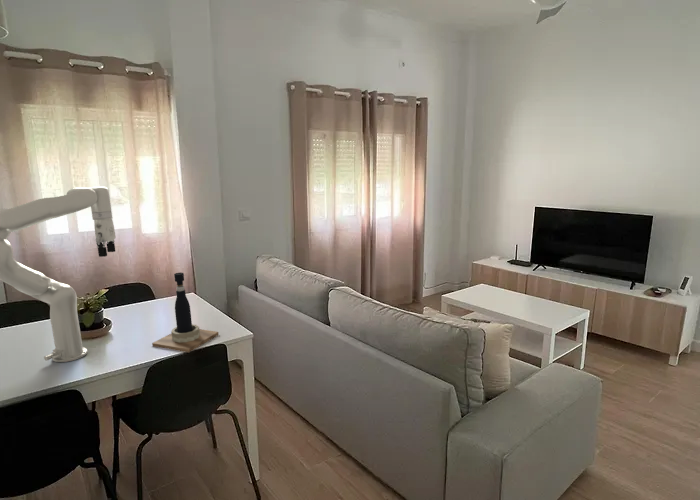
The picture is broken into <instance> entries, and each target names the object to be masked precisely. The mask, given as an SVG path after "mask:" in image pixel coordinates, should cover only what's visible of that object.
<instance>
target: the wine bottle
mask: <svg viewBox="0 0 700 500" xmlns="http://www.w3.org/2000/svg"><path fill="white" fill-rule="evenodd" d="M184 274H185V273H184V272H176V273H174V281H175V282H176V288H175V289H176V290H175V291H176V292H175V294H176V299H175V302H174V313H175V322H176V327H177V333H187V332H191V331H192V324H193V323H192V313H191V305H190V302H189V299H188V298H187V295H186V289H185V286H184V281H185V275H184Z"/></svg>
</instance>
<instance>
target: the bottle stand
mask: <svg viewBox="0 0 700 500" xmlns="http://www.w3.org/2000/svg"><path fill="white" fill-rule="evenodd" d="M170 332H171V333H169V334H167V335H165V336H164V337H161V338H160V339H157V340H155V341H154V342H152V347H155V348H161V349H166V350H171V351H172V350H173V351H178V352H183V353H191V352H193V351H194V350H195V349H197V348H200V347H201V346H202V345H204V344H206V343H208V342H209V341H211V340H212V339H214V338H217V337H218V336H219V331H216V330H208V329H200V326H199V325H197V324H193V323H192V331H191V332H187V333H177V326H176V327H174V328H172V329H171V331H170ZM190 351H191V352H190Z"/></svg>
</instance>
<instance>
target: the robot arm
mask: <svg viewBox="0 0 700 500" xmlns="http://www.w3.org/2000/svg"><path fill="white" fill-rule="evenodd" d="M111 205H112V204H111V198H110V190H109V188H108V187H106V186H93V187H73V188H70V189H69V190H68V191H67V192H66V194H64V195H60V196H54V197H52V196H51V197H44V198H38V199H35V200H33V201H29V202H26V203H23V204H20V205H16V206H14V207H11V208H0V281H1V282H3V283H6V284H7V285H9V286H12V288H14V289H15V290H17V291H18V292H20V293H23V294H24V295H26V296H30V297H31V298H34V299H36V300H39V301H41V302H43V303H46V304H48V305H49V307H50V308H49V319H50V320H49V321H50V324H51V330H52V336H53V342H54V349H52V352H51V353H50V354H47V355H45V356H44V357H43V360H45V361H49V360H52V361H53V362H54V363H66V362H72V361H75V360H79V359H81V358H83V357H85V356H86V355H87V354H88V352H89V351H88V349H87V348H86V347H84V346H83V341H82V335H81V333H82V332H81V328H80V322H79V316H78V315H79V314H78V308H77V307H78V306H77V305H78V297H77V292H76V290H75V289H74V288H73V287H72V286H70V285H69V284H66V283H63V282H59V281H56V280H54V279H52V278H50V277H48V276H46V275H45V274H44V273H43V272H41V271H38V270H35V269H33V268H31V267H28V266H26V265H24V264H22V263H21V262H18V261H17V260H16V259H15V257H14V256H13V255H14V253H13V246H12V244H11V242H9V240H8V238H9V237H10V234H11V233H13V232H18V231H23V230H24V229H27V228H29V227H32V226H35V225H37V224H40V223H43V222H46V221H49V220H52V219H57V218H60V217H63V216H67V215H70V214H74V213H76V212H79V211H83V210H86V209H87V208H90V211H91V217H92V220H93V222H94V223H93V225H94V236H95V243H96V247H97V254H98V257H99V258H100V257H101V258H102V257H107V256H108V253H115V252H116V245H115V239H116V231H115V226H114V222H113V213H112V212H113V211H112V206H111Z"/></svg>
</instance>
